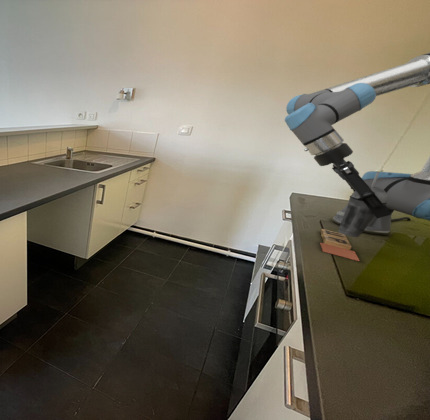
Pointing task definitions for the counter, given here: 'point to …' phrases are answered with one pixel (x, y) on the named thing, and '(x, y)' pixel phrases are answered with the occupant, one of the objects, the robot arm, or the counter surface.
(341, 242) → the oak tile
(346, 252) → the slot pad
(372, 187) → the beverage cup
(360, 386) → the counter surface
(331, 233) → the oak tile
